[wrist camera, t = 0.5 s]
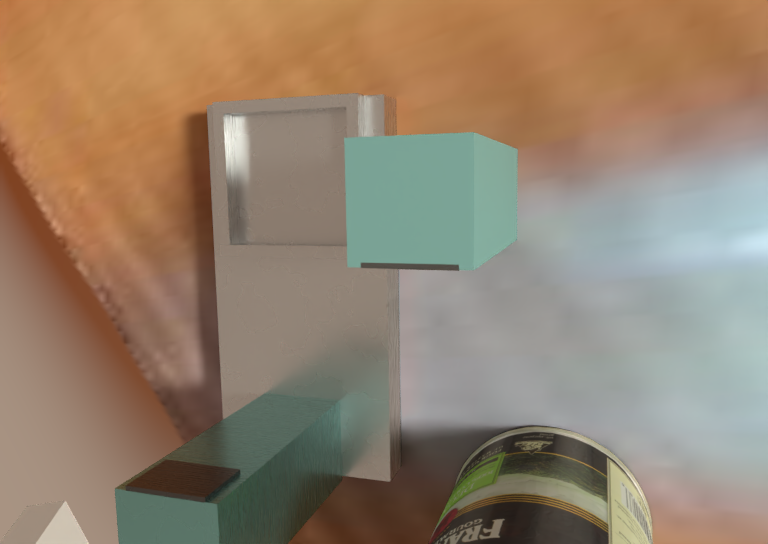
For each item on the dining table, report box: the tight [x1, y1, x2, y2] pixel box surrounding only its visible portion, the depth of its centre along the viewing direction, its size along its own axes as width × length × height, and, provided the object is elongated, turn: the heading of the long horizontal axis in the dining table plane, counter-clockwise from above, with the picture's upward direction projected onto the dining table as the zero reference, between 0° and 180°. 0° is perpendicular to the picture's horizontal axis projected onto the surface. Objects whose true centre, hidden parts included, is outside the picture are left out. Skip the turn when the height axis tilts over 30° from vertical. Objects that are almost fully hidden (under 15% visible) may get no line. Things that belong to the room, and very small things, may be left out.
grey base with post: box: [115, 93, 401, 544], centre depth 30 cm, size 20×10×14 cm, turn 1°
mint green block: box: [344, 132, 518, 271], centre depth 28 cm, size 4×4×12 cm
